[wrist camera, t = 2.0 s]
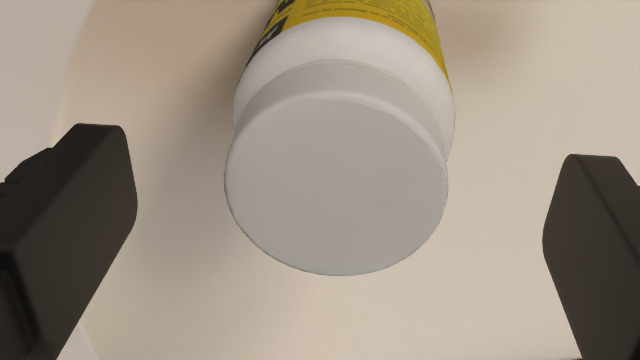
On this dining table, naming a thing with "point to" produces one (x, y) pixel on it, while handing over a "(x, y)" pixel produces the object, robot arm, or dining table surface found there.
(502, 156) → the dining table surface
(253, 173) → the supplement bottle
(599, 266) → the robot arm
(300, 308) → the dining table surface
